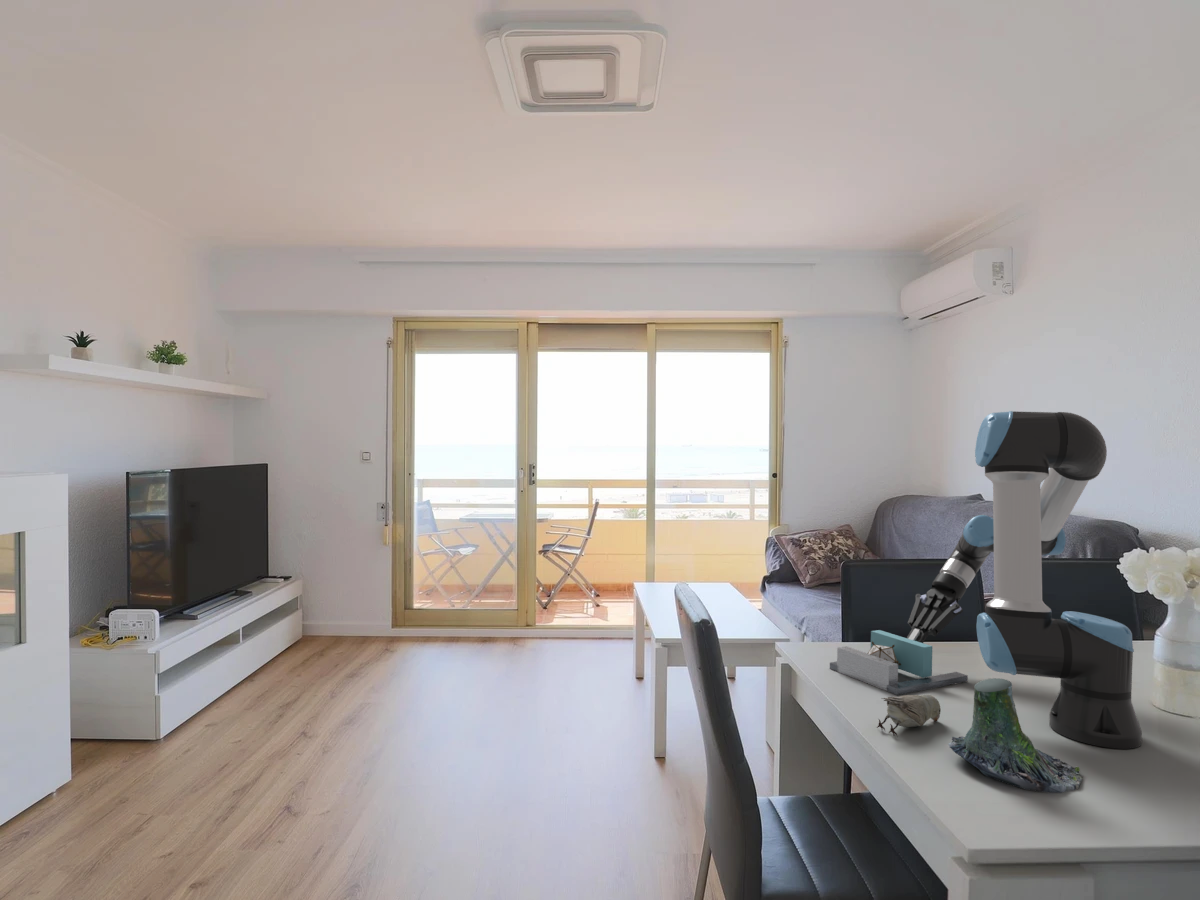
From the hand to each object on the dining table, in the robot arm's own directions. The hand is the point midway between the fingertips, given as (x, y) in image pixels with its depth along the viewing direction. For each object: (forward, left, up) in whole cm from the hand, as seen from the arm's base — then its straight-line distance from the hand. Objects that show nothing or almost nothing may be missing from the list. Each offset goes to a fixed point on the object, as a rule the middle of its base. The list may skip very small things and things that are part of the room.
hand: (906, 652), depth 178 cm
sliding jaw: (0, +3, -3) cm, 4 cm away
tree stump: (-46, +27, -5) cm, 54 cm away
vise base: (0, +5, -5) cm, 7 cm away
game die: (0, +8, -5) cm, 10 cm away
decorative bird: (-25, +28, -5) cm, 38 cm away
